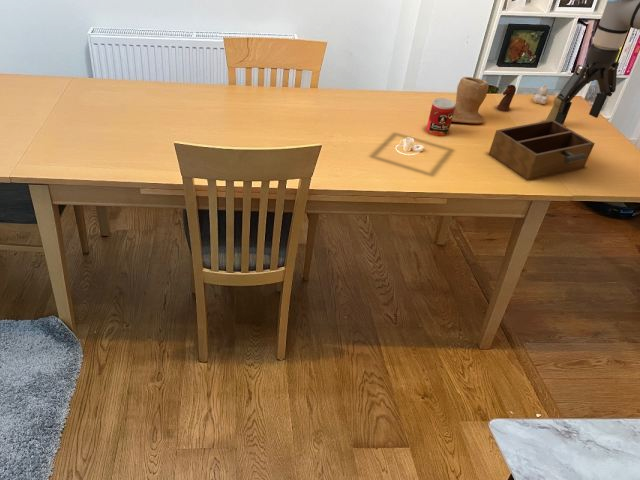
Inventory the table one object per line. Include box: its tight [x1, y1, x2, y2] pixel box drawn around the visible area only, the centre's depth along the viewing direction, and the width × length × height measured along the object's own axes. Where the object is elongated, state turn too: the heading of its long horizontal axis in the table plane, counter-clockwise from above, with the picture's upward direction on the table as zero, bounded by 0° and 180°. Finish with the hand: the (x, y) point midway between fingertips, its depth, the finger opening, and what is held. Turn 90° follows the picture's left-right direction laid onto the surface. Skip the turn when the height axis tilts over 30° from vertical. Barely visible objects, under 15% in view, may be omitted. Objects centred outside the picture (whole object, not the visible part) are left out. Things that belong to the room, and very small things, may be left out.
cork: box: [545, 96, 563, 125], centre depth 210 cm, size 6×6×11 cm
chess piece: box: [496, 84, 517, 113], centre depth 219 cm, size 5×5×10 cm
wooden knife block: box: [488, 120, 596, 181], centre depth 187 cm, size 23×24×9 cm
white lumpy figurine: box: [532, 84, 550, 105], centre depth 226 cm, size 5×7×8 cm
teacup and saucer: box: [394, 137, 424, 156], centre depth 194 cm, size 9×8×4 cm
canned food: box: [426, 97, 456, 137], centre depth 203 cm, size 8×8×11 cm
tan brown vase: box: [451, 76, 490, 124], centre depth 210 cm, size 15×12×15 cm
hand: (576, 119), depth 174 cm, fingers open, 13 cm apart
